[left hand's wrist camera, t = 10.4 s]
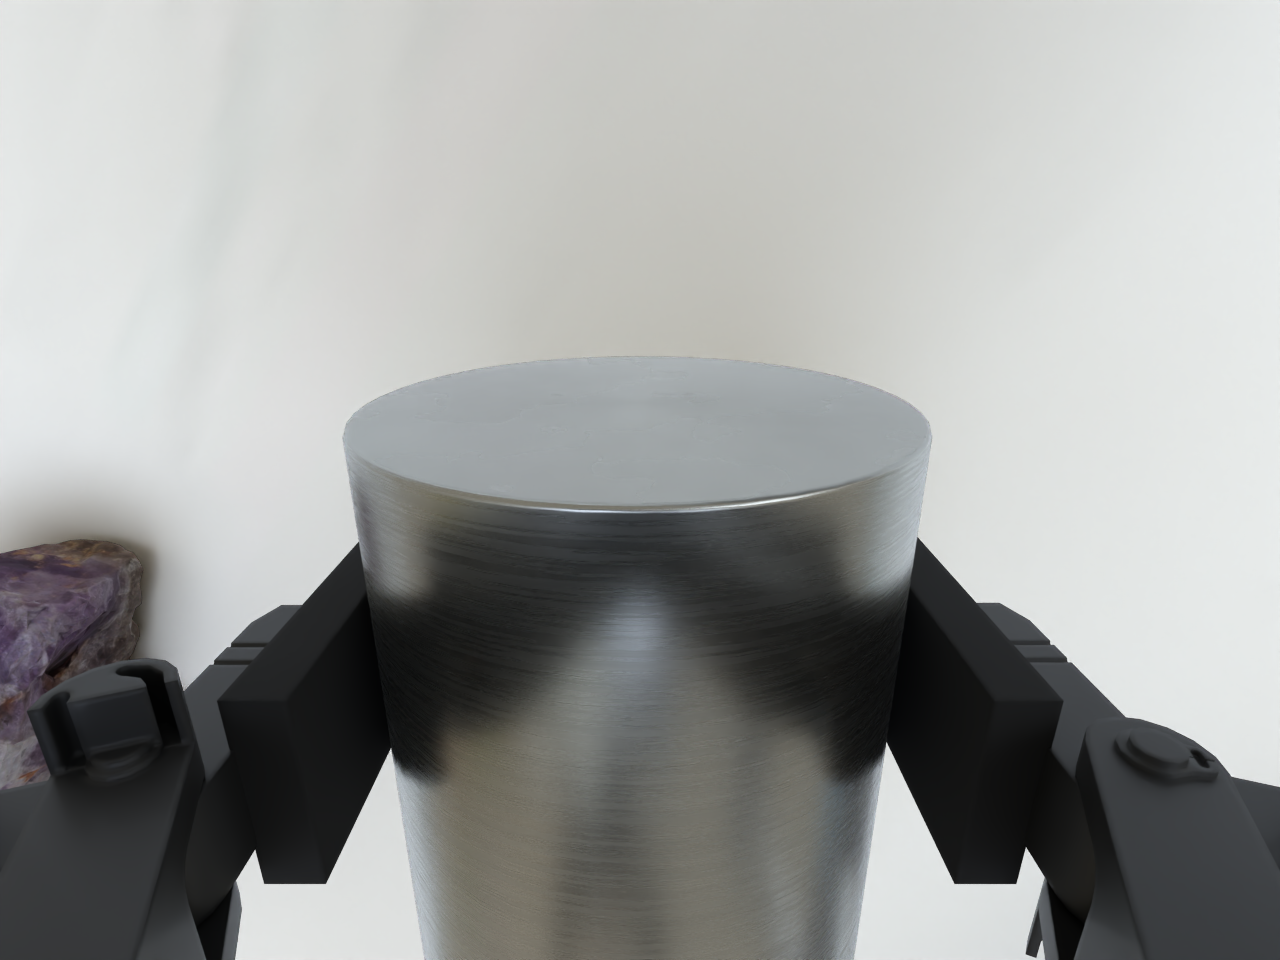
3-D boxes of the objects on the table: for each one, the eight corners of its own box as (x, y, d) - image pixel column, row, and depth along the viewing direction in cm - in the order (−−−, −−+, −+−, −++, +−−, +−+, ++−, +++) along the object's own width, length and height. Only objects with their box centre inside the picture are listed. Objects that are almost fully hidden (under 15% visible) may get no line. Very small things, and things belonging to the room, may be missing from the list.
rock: (207, 546, 32) (-25, 499, 31) (72, 617, 24) (-254, 556, 22) (175, 767, 34) (-44, 730, 33) (40, 905, 26) (-260, 862, 24)
